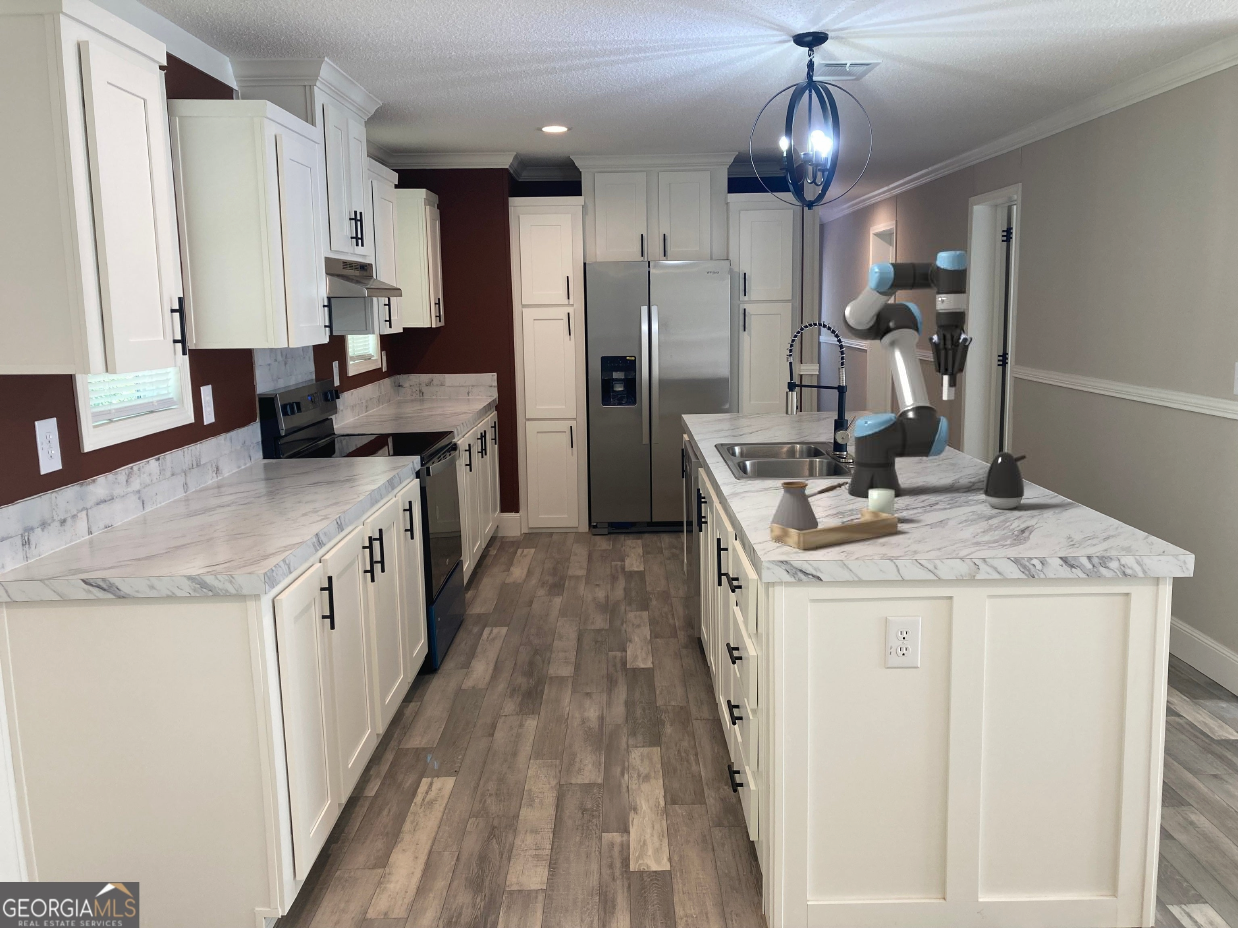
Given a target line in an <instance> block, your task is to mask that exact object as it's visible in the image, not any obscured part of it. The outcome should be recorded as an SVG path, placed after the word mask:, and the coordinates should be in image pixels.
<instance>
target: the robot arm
mask: <svg viewBox="0 0 1238 928" xmlns="http://www.w3.org/2000/svg"><path fill="white" fill-rule="evenodd" d="M968 266H969V265H968V254H967V252H966V251H963V250H954V251H953V250H951V251H940V252H938V254H937V256H936V261H913V262H912V261H910V262H907V261H906V262H905V261H904V262H885V261H883V262H881V263H879V262H878V263H874V264H872V265H871V266H870V268H869V271H868V285H867V286H866V287H865V289H863V291H862V292H861V293H860V294H859V296H858V297H857V298H856V299H855V300H852V301H851V302H850V303H848V304H847V306H846V307H845V309H844V310H843V313H842V323H843V327H844V328H845V329H846V332H848V333H849V335H851V336H852V337H854V338H856V339H858V340H862V341H879V343H880V347H881V348H882V350H884V351H886V353H887V357H888V360H889V365H890V370H891V373H892V379H893V384H894V388H895V394H896V397H897V402H898V406H899V407H898V408H899V413H898V414H897V416H896V413H891V412H890V413H877V414H869V415H866V416H862V417H859V418H858V419H857V420H856V421H855V423H854V424H855V425H854V433H853V436H854V463H853V464H854V467H853V471H852V475H851V478H850V482H848V483H849V484H850V485H851V489H850V485H849V484H847V485H848V486H847V489H848V490H847V493H848V494H849V495H850V496H854V497H859V498H868V499H869V490H870V489H877V488H883V489H892V490H894V491H895V497H899V496H900V495H902V485H901V484H900V482H899V477H898V473H897V470H896V459H899V458H900V459H902V458H903V459H904V458H929V457H930V458H931V457H938V456H941V455H942V454H943V453H944V452H945V450H946V448H947V446H948V445H947V444H948V440H949V428H950V427H949V422H948V419H947V418H946V417H945V416H942V415H941V416H938V411H937V408H936V407H934V406H932V405H930V401H929V397H928V392H927V388H926V384H925V380H924V375H923V371H922V366H921V363H920V359H919V354H918V350H917V349H918V348H917V346H916V344H917V343H918V341H919V338H920V337H921V335H922V334H923V326H924V325H923V317H922V312H921V311H920V309H919V307H918V306H917V305H916V304H915V303H914V302H904V301H898V302H889V301H890V300H891V299H892V298H893V297H894V296H895V295H896V294H897V293H898V292H899V291H924V290H925V291H926V290H928V291H934V290H935V291H936V293H935V294H936V296H935V298H936V299H935V309H936V310H937V311H938V312H936V313H935V326H936V330H935V335H933V336H931V337H930V336H929V337H928V342H929V344H930V346H931V351H932V358H933V365H934V371H935V373H937V374H938V373H939V374H940V375H941V381H940V382H941V383H940V384H941V385H940V386H941V388H942V400H943V401H950V400H955V388H956V387H957V376H958V375H959V374H963V372H964V370H965V365H966V362H967V357H968V352H969V349H970V348H969V347H970V345H971V343H972V342H973V337H972V336H968V335H966V331H965V329H964V326H965V325H966V319H967V317H966V316H967V315H966V311H964V310H966V309H967V284H968V283H967V281H968V279H967V278H968V275H967V274H968ZM849 489H850V490H849Z"/></svg>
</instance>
